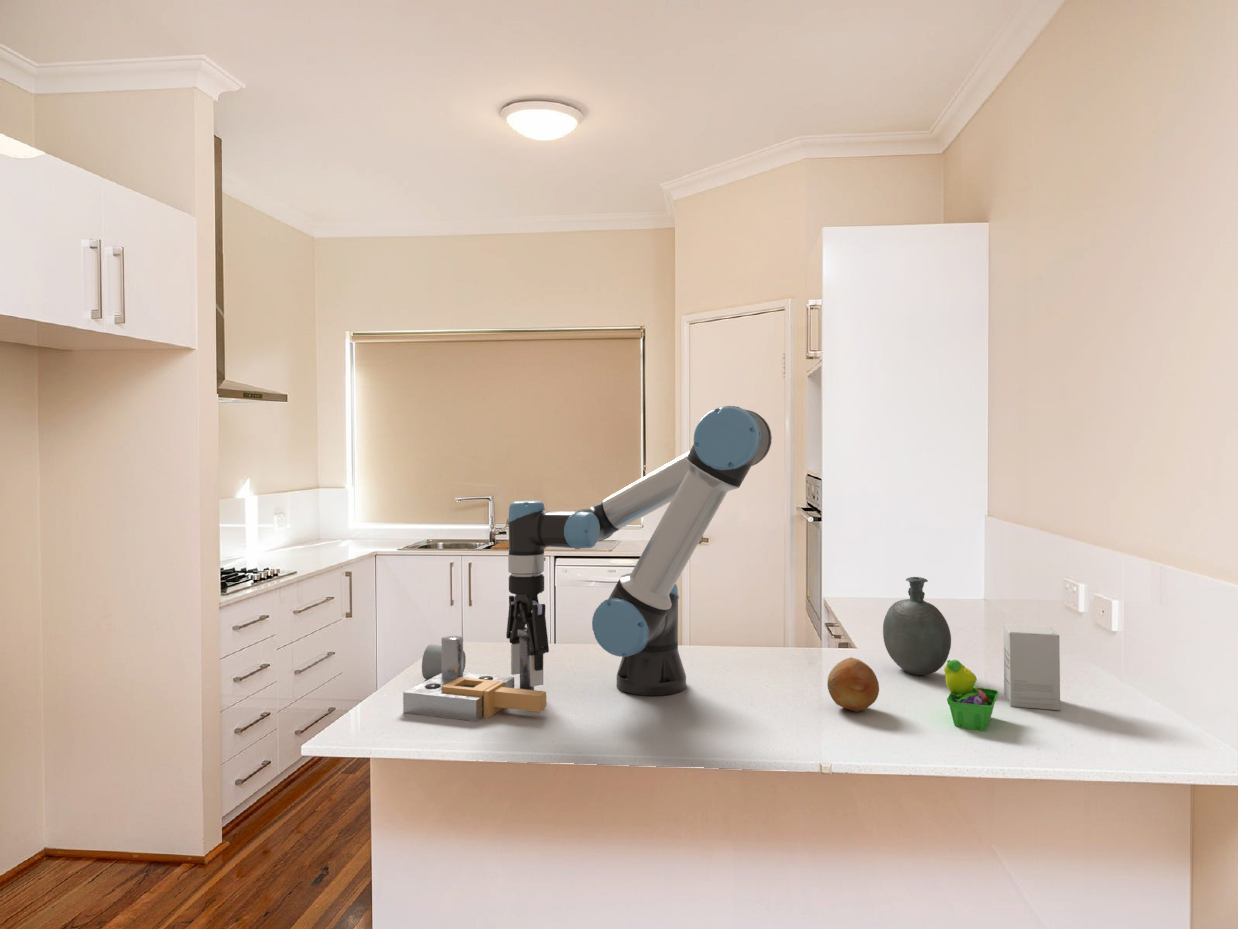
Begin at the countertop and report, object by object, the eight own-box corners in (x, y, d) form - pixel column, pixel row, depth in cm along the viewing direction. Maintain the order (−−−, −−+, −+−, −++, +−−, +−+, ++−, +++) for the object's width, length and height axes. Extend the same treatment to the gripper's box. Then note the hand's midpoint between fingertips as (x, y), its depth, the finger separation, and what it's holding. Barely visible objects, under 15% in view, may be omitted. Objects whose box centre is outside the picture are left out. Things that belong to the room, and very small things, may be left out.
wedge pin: (538, 689, 165) (538, 628, 165) (531, 694, 162) (531, 631, 162) (522, 688, 166) (522, 626, 166) (514, 693, 163) (514, 630, 163)
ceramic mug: (457, 684, 169) (457, 649, 169) (420, 683, 170) (420, 648, 170) (471, 672, 180) (471, 639, 180) (437, 671, 181) (437, 638, 181)
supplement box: (1051, 698, 159) (1051, 625, 159) (1061, 711, 150) (1061, 634, 150) (1002, 693, 162) (1002, 622, 162) (1009, 706, 153) (1009, 631, 153)
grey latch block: (514, 696, 161) (514, 638, 161) (476, 721, 145) (476, 657, 145) (446, 689, 166) (446, 633, 166) (403, 712, 151) (403, 651, 150)
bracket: (550, 711, 151) (550, 686, 151) (535, 723, 144) (535, 696, 144) (460, 701, 157) (459, 677, 157) (441, 712, 151) (441, 686, 151)
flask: (909, 685, 168) (909, 584, 168) (875, 664, 185) (876, 572, 185) (960, 683, 169) (960, 583, 169) (922, 663, 186) (922, 571, 186)
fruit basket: (991, 735, 138) (992, 672, 138) (938, 726, 142) (939, 665, 142) (999, 717, 147) (999, 657, 147) (949, 709, 152) (949, 651, 152)
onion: (816, 705, 154) (816, 655, 154) (856, 699, 158) (856, 650, 158) (848, 721, 145) (848, 668, 145) (890, 714, 149) (890, 662, 149)
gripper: (565, 579, 156) (565, 690, 156) (522, 566, 175) (522, 664, 175) (531, 582, 152) (531, 695, 153) (490, 568, 171) (491, 669, 172)
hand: (526, 679), depth 164 cm, fingers open, 9 cm apart
